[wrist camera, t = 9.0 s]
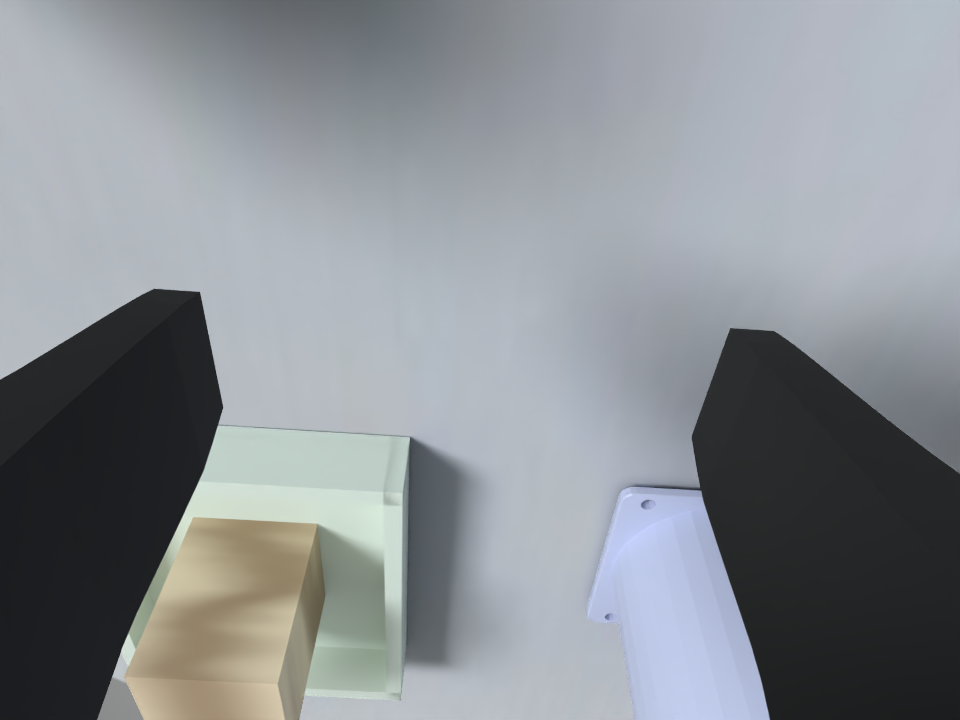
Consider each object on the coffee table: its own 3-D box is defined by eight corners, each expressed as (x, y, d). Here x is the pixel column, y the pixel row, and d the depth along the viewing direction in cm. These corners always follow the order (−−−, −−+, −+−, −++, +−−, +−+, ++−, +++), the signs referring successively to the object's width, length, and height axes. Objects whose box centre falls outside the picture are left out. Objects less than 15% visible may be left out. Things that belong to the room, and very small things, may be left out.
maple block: (317, 523, 25) (277, 684, 21) (325, 595, 28) (291, 752, 23) (193, 517, 25) (123, 677, 21) (213, 589, 28) (156, 746, 23)
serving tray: (410, 437, 24) (402, 493, 22) (406, 645, 31) (400, 700, 29) (79, 416, 23) (41, 471, 21) (160, 632, 31) (137, 687, 29)
